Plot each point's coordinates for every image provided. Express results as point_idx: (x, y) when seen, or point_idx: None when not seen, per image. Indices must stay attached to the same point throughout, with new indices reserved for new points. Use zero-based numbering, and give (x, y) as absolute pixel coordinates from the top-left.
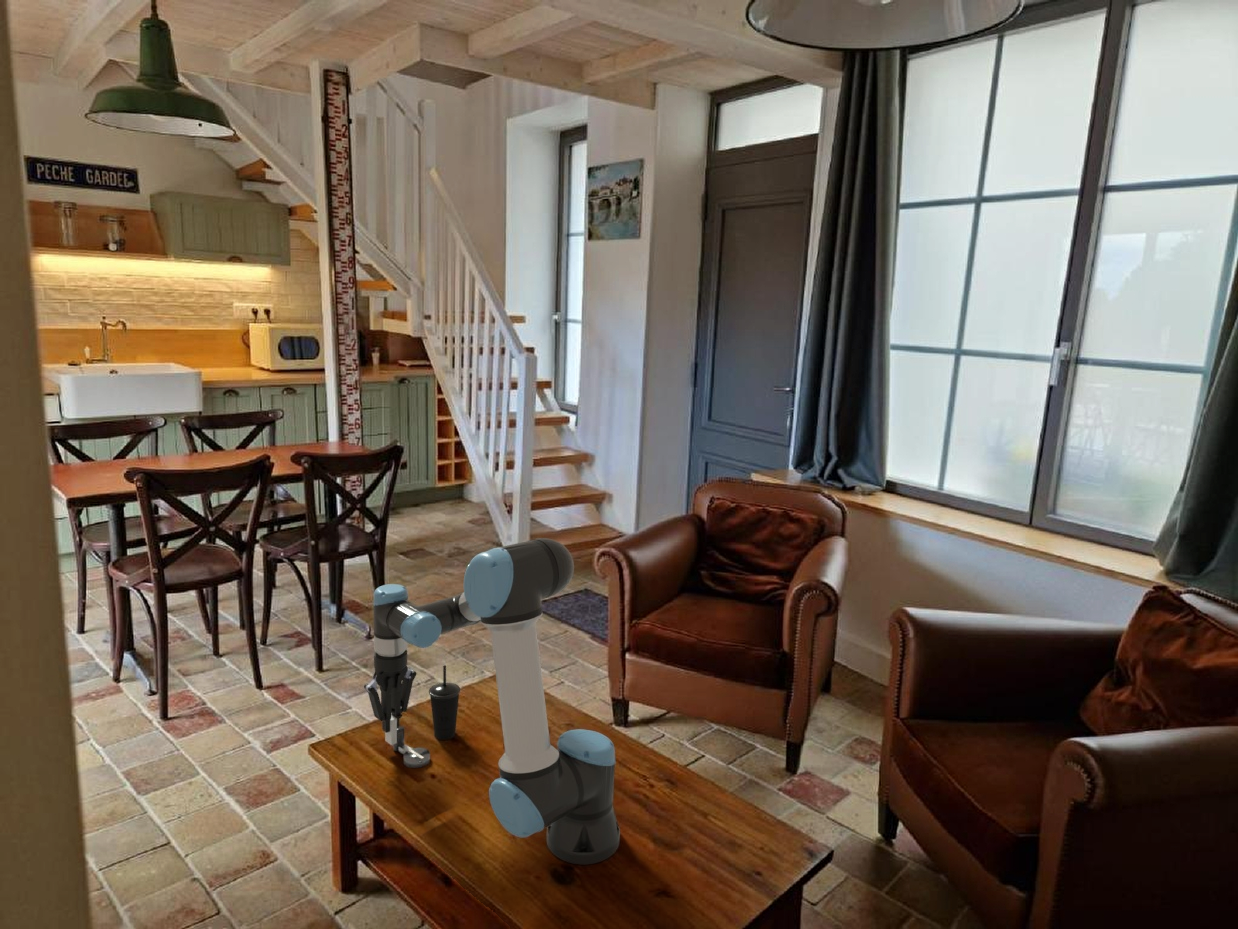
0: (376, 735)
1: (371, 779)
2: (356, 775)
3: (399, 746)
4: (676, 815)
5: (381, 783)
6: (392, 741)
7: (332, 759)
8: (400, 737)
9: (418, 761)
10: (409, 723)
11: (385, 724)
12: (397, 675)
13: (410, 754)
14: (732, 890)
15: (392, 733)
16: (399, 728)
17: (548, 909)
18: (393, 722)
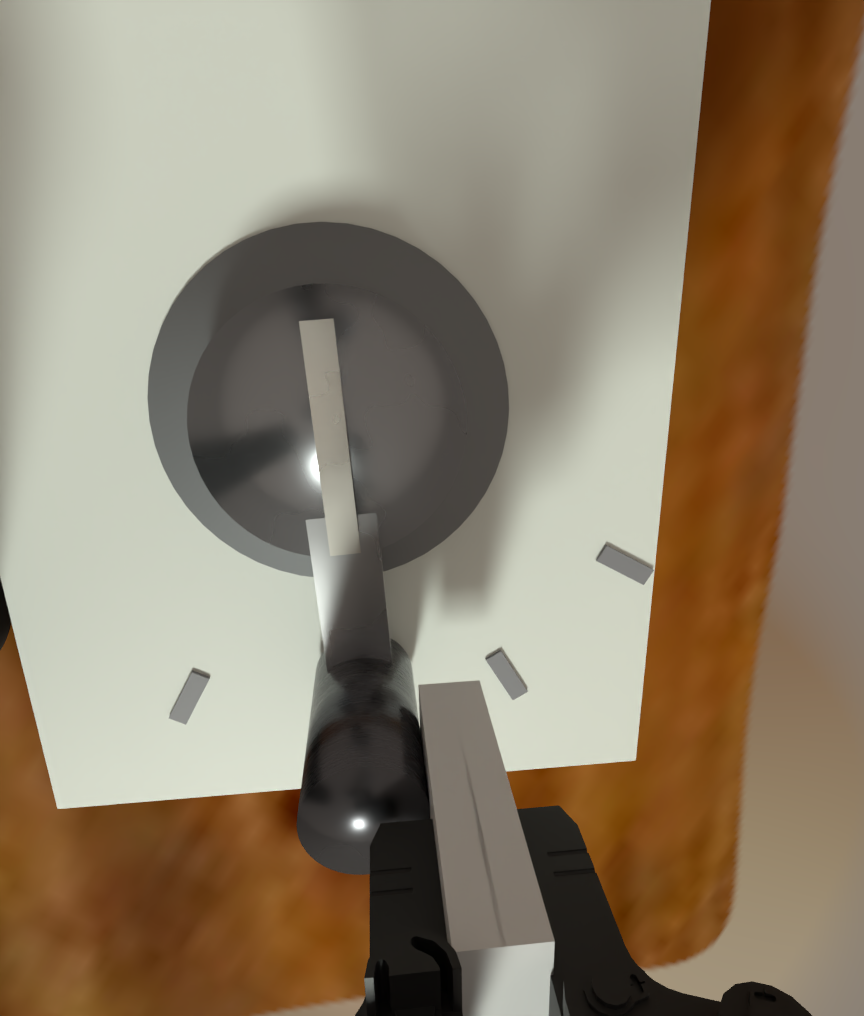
0: (358, 930)
1: (703, 487)
2: (740, 601)
3: (387, 658)
4: None
5: (687, 386)
6: (473, 705)
7: (723, 845)
8: (375, 715)
9: (386, 298)
10: (81, 942)
11: (612, 914)
12: None
13: (380, 473)
14: None
15: (489, 771)
16: (353, 822)
17: None
18: (505, 899)
